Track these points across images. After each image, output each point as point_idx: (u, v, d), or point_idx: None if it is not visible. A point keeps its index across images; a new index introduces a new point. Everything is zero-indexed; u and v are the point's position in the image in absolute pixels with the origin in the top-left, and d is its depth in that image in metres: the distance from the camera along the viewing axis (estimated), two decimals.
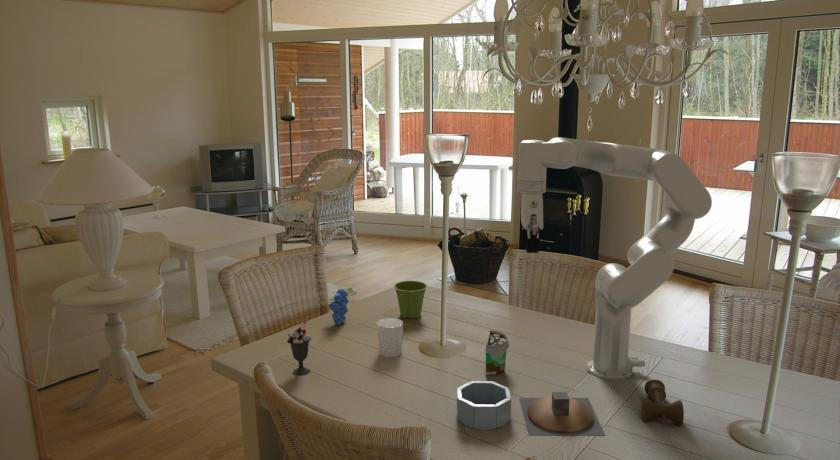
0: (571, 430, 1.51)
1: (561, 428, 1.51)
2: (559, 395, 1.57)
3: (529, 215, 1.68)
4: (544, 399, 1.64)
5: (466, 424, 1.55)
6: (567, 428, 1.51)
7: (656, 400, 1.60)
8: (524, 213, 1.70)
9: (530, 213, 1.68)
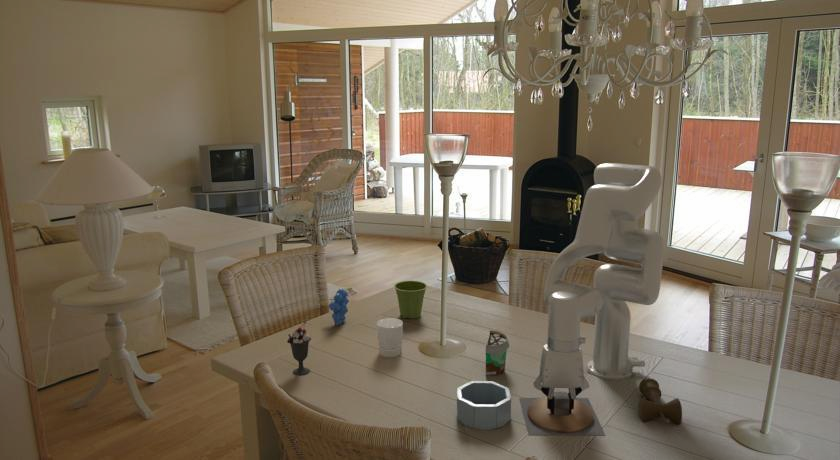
0: (571, 430, 1.51)
1: (561, 428, 1.51)
2: (559, 395, 1.57)
3: None
4: (544, 399, 1.64)
5: (466, 424, 1.55)
6: (567, 428, 1.51)
7: (653, 399, 1.61)
8: (578, 372, 1.53)
9: None
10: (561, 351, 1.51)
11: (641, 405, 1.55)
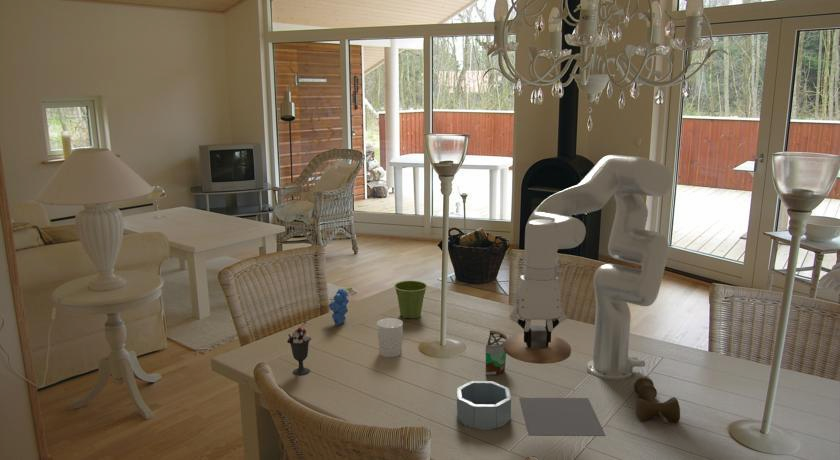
0: (548, 360, 1.46)
1: (538, 359, 1.47)
2: (536, 328, 1.53)
3: (560, 301, 1.50)
4: (521, 336, 1.60)
5: (466, 424, 1.55)
6: (544, 359, 1.47)
7: (649, 398, 1.61)
8: (555, 302, 1.49)
9: None
10: (538, 279, 1.47)
11: (639, 405, 1.55)
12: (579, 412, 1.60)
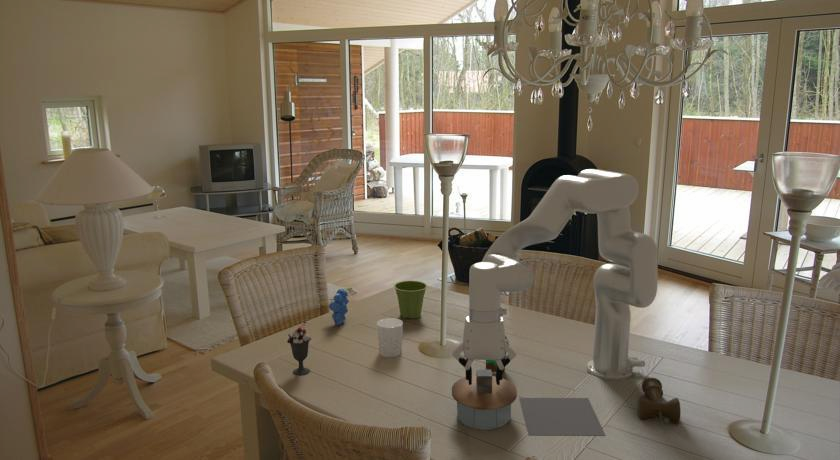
0: (491, 407, 1.50)
1: (481, 405, 1.50)
2: (483, 372, 1.56)
3: (505, 342, 1.53)
4: None
5: (466, 424, 1.55)
6: (487, 405, 1.50)
7: (653, 398, 1.61)
8: (499, 343, 1.52)
9: None
10: (481, 322, 1.50)
11: (639, 403, 1.56)
12: (579, 412, 1.60)
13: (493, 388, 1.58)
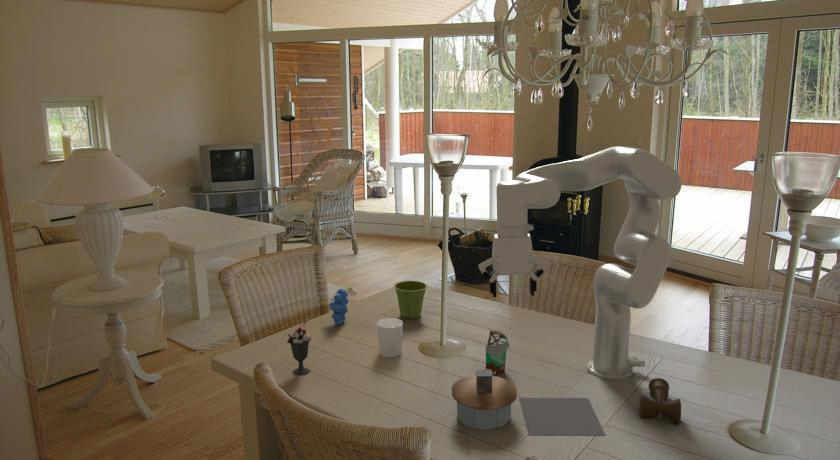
0: (491, 407, 1.50)
1: (481, 405, 1.50)
2: (483, 372, 1.56)
3: (533, 257, 1.59)
4: (471, 378, 1.63)
5: (466, 424, 1.55)
6: (487, 405, 1.50)
7: (656, 398, 1.61)
8: (528, 257, 1.58)
9: None
10: (510, 236, 1.55)
11: (640, 402, 1.57)
12: (579, 412, 1.60)
13: (493, 388, 1.58)
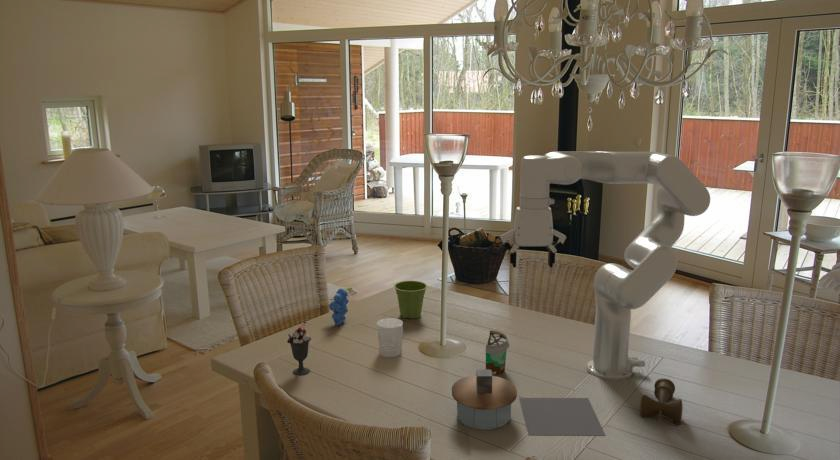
0: (491, 407, 1.50)
1: (481, 405, 1.50)
2: (483, 372, 1.56)
3: (552, 229, 1.67)
4: (471, 378, 1.63)
5: (466, 424, 1.55)
6: (487, 405, 1.50)
7: (659, 398, 1.61)
8: (548, 230, 1.66)
9: None
10: (531, 208, 1.63)
11: (641, 401, 1.57)
12: (579, 412, 1.60)
13: (493, 388, 1.58)
